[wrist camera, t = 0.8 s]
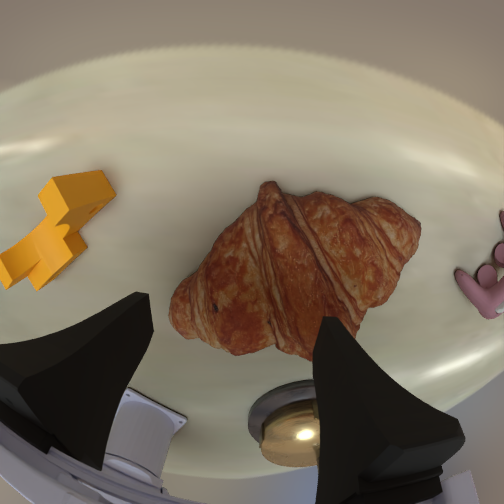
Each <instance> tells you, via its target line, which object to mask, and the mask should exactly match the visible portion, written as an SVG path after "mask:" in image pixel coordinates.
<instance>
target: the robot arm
mask: <svg viewBox="0 0 504 504" xmlns="http://www.w3.org/2000/svg"><path fill="white" fill-rule="evenodd" d="M153 332H154V329H153V322H152V315H151V308H150V300H149V294H147V293H141V292H134V293H132V294H130V295H128V296H127V297H125V298H123V299H121V300H120V301H118V302H116V303H114V304H113V305H111V306H109V307H107V308H106V309H104V310H102V311H101V312H99V313H97V314H95V315H93V316H91V317H89V318H87V319H85V320H83V321H82V322H80V323H77V324H75V325H73V326H71V327H68V328H66V329H63V330H61V331H58V332H55V333H52V334H49V335H46V336H43V337H40V338H36V339H32V340H27V341H22V342H16V343H8V344H0V476H1V477H2V478H3V479H4V480H5V481H6V482H7V483H8V484H10V485H11V486H12V487H13V488H14V489H15V490H16V491H18V492H19V493H20V494H21V495H22V496H24V497H25V498H26V499H27V500H29V501H30V502H31V503H33V504H206V503H200V502H195V501H191V500H186V499H181V498H177V497H174V496H170V495H169V493H168V491H167V489H166V488H164V487H162V483H163V480H162V479H160V476H161V473H162V470H163V466H164V463H165V459H166V456H167V452H168V449H169V446H170V442H171V439H172V436H173V435H174V434H175V433H176V432H177V431H178V430H179V429H180V428H181V427H182V426H183V425H184V424H185V423H186V421H187V418H186V417H184V416H182V415H179V414H177V413H175V412H173V411H171V410H169V409H167V408H165V407H163V406H161V405H159V404H157V403H155V402H153V401H151V400H150V399H148V398H146V397H144V396H142V395H140V394H139V393H137V392H135V391H133V390H132V389H130V388H127V389H126V387H127V385H128V383H129V382H130V380H131V378H132V376H133V374H134V372H135V371H136V369H137V367H138V365H139V363H140V362H141V360H142V358H143V356H144V354H145V352H146V350H147V348H148V346H149V343H150V341H151V338H152V335H153ZM312 361H313V379H314V386H315V393H316V399H317V406H318V414H319V424H320V454H319V473H318V485H317V494H316V502H315V504H479V500H478V496H477V492H476V488H475V485H474V481H473V478H472V474H471V471H470V470H467V471H464V472H461V473H459V474H457V475H454V476H451V477H449V478H447V479H445V480H443V481H441V482H440V478H439V475H441V474H442V473H443V470H442V466H441V465H442V464H443V463H445V462H446V461H447V460H448V459H449V458H451V457H452V456H453V455H454V454H455V453H456V452H457V451H458V450H460V448H461V447H462V446H463V444H464V442H465V436H464V433H463V431H462V428H461V426H460V423H459V421H458V419H456V418H454V417H452V416H450V415H448V414H446V413H443V412H441V411H439V410H437V409H435V408H433V407H432V406H430V405H428V404H427V403H425V402H423V401H422V400H420V399H418V398H417V397H415V396H414V395H413V394H411V393H410V392H408V391H407V390H406V389H404V388H403V387H402V386H400V385H399V384H398V383H397V382H395V381H394V380H393V379H392V378H391V377H390V376H389V375H388V374H386V373H385V372H384V371H383V370H382V369H381V368H380V367H379V366H378V365H377V364H376V363H375V362H374V361H373V360H372V358H371V357H370V356H369V355H368V354H367V353H366V352H365V351H364V350H363V348H362V347H361V346H360V345H359V344H358V342H357V341H356V340H355V339H354V337H353V336H352V335H351V334H350V332H349V331H348V330H347V328H346V327H345V326H344V325H343V323H342V322H341V321H340V320H339V318H338V317H331V316H323V318H322V321H321V325H320V328H319V332H318V335H317V339H316V342H315V346H314V349H313V352H312ZM125 389H126V390H125ZM124 391H125V392H124ZM123 393H124V394H123ZM113 421H114V422H113Z"/></svg>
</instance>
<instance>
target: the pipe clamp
mask: <svg viewBox="0 0 504 504" xmlns="http://www.w3.org/2000/svg"><path fill="white" fill-rule="evenodd" d="M115 196H116V194H115V192H114V190H113V189H112V187H111V185H110V184H109V182H108V180H107V179H106V177H105V175H104V173H103V172H102V170H98V171H91V172H83V173H76V174H69V175H63V176H57V177H52V178H51V179H50V180H49V182H48V183H47V184H46V185H45V187H44V188H43V189H42V191H41V192H40V193H39V194H38V197H39V199H40V201H41V203H42V205H43V207H44V209H45V211H46V213H47V216H46V217H45V219H44V220H43V221H42V222H41V223H40V224H39V225H38V226H37V227H36V228H35V229H34V230H33V231H32V232H31V233H29V234H28V235H27V236H26V237H25V238H23V239H22V240H21V241H20V242H18V243H17V244H15V245H14V246H13V247H11V248H10V249H8V250H7V251H5V252H3V253H1V254H0V280H1V282H2V284H3V285H4V287H5V289H6V290H7V289H9V288H10V287H12V286H13V285H15V284H16V283H18V282H19V281H21V280H22V279H24V278H25V277H27V276H28V278H29V280H30V281H31V283H32V285H33V286H34V288H35V289H36V291H38V290H40V289H41V288H42V287H44V286H45V285H47V284H48V283H49V282H51V281H52V280H54V279H55V278H56V277H57V276H58V275H59V274H60V273H61V272H62V271H63V270H64V269H65V268H66V267H67V266H68V265H69V264H70V263H71V262H72V261H73V260H74V259H75V258H77V257H78V256H79V255H80V254H81V253H82V252H83V251H84V250H85V249H86V248H87V246H86V244H85V243H84V241H83V239H82V238H81V236H80V235H79V233H78V230H79V229H81V228H82V227H83V226H84V225H85V224H86V223H87V222H88V221H89V220H90V219H91V218H92V217H93V216H94V215H95V214H96V213H97V212H98V211H100V210H101V209H102V208H103V207H104V206H105V205H106V204H107V203H108V202H109V201H111V200H112V199H113V198H114V197H115Z"/></svg>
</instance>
